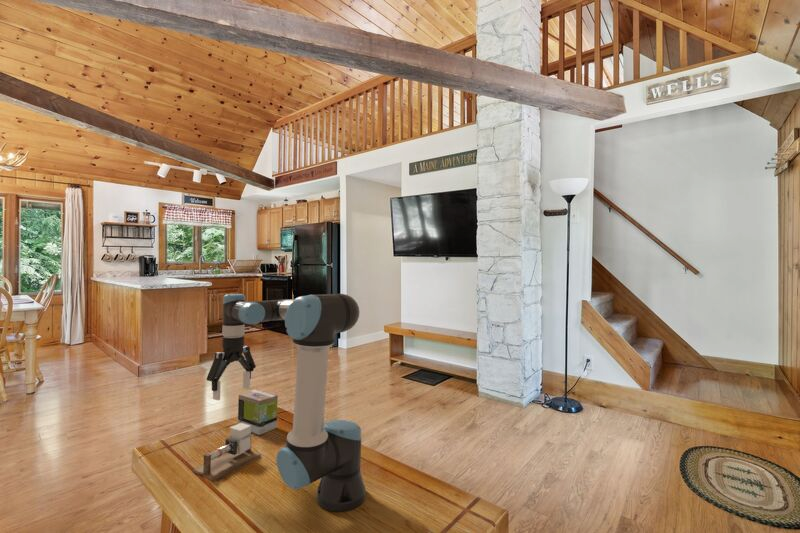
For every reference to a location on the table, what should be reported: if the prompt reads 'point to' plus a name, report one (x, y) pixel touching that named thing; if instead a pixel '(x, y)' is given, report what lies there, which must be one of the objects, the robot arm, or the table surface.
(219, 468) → the board
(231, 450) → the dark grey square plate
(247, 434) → the sleeve
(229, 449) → the pipe
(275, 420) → the tea box
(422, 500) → the table surface
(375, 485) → the table surface
